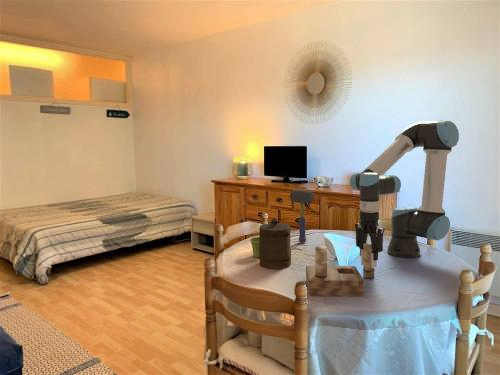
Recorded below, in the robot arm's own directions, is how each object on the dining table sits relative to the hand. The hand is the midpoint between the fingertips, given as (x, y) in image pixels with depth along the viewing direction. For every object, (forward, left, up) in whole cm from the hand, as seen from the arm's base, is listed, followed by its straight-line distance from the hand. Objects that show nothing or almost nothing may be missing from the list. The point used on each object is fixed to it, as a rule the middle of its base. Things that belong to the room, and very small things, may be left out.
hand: (368, 265), depth 156 cm
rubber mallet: (+24, -53, -5) cm, 58 cm away
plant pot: (+47, -29, -5) cm, 56 cm away
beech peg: (0, 0, -5) cm, 5 cm away
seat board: (+16, +11, -5) cm, 20 cm away
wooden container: (+39, -17, -5) cm, 43 cm away
